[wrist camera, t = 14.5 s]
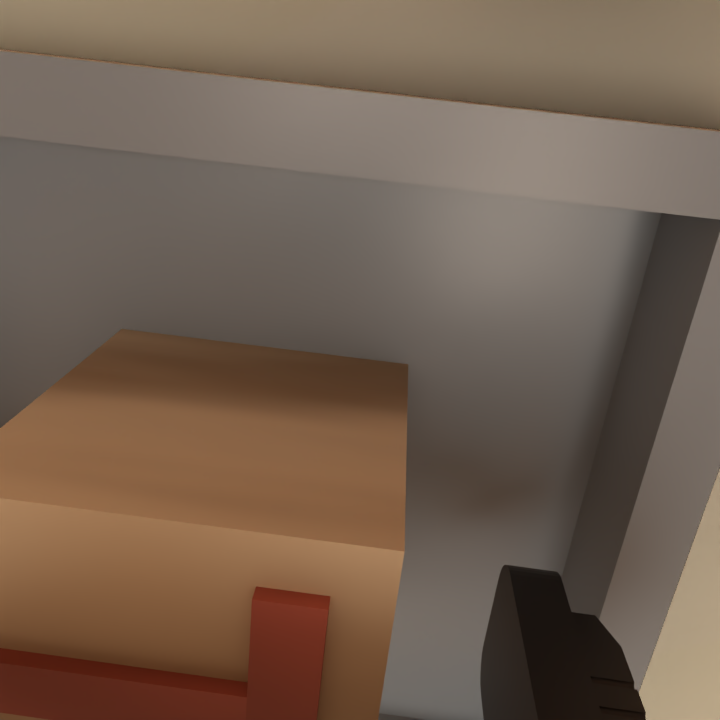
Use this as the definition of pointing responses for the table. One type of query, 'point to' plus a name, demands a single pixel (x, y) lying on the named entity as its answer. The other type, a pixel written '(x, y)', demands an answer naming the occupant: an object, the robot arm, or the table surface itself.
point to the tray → (403, 310)
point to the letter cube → (202, 535)
